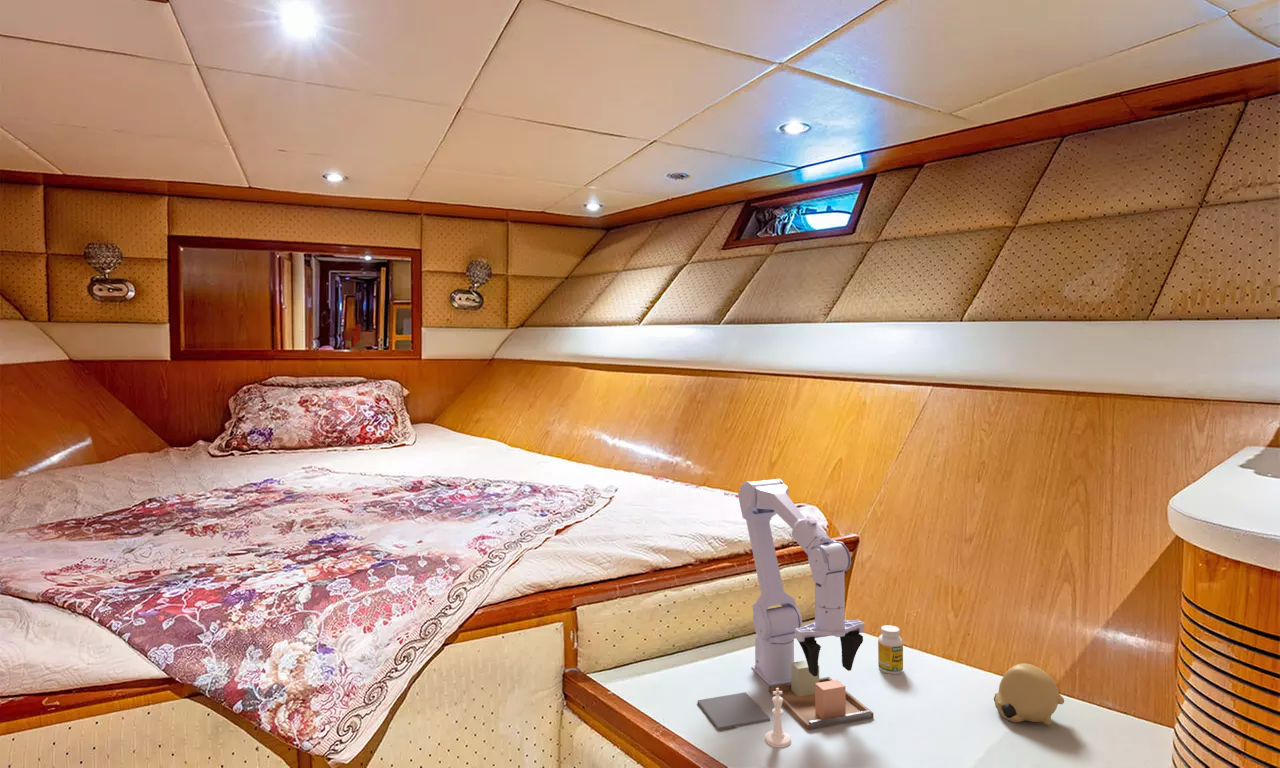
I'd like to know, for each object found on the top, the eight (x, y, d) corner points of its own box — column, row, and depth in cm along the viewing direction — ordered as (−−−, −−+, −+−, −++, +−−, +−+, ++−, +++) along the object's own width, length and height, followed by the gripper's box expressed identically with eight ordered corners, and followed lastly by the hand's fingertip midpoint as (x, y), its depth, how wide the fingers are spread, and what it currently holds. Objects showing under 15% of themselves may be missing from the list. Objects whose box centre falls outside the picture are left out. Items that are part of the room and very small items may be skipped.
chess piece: (761, 734, 128) (761, 682, 128) (786, 732, 128) (786, 681, 128) (768, 749, 123) (768, 695, 123) (795, 747, 123) (794, 694, 123)
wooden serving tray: (769, 692, 144) (768, 685, 144) (828, 682, 148) (828, 675, 148) (807, 731, 129) (807, 723, 129) (873, 718, 133) (873, 710, 133)
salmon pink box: (815, 712, 135) (815, 683, 135) (837, 708, 137) (836, 679, 136) (823, 720, 132) (823, 690, 132) (845, 716, 134) (845, 686, 133)
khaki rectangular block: (791, 690, 144) (791, 662, 144) (811, 686, 146) (811, 659, 146) (798, 696, 142) (798, 668, 141) (819, 693, 143) (819, 665, 143)
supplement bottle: (887, 662, 158) (887, 621, 157) (908, 670, 153) (908, 629, 153) (873, 668, 155) (873, 627, 154) (893, 677, 150) (893, 634, 150)
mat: (697, 703, 140) (697, 700, 140) (745, 694, 143) (745, 692, 143) (718, 730, 129) (718, 727, 129) (769, 721, 133) (769, 718, 132)
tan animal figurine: (1018, 723, 137) (975, 684, 139) (1062, 684, 135) (1018, 645, 137) (1033, 749, 127) (987, 706, 130) (1080, 707, 125) (1033, 664, 127)
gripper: (807, 615, 128) (808, 685, 128) (873, 606, 132) (873, 674, 132) (789, 602, 135) (790, 669, 135) (852, 594, 139) (852, 659, 139)
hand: (830, 671), depth 134 cm, fingers open, 7 cm apart
